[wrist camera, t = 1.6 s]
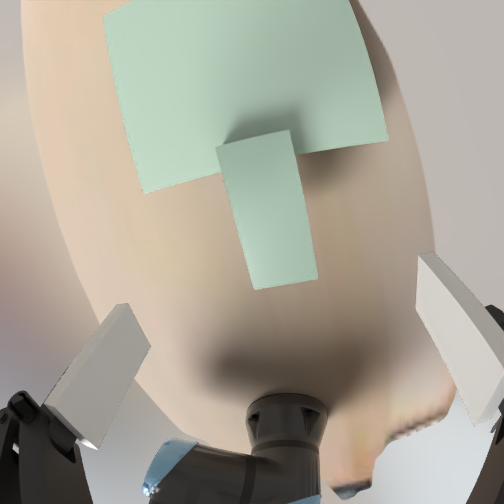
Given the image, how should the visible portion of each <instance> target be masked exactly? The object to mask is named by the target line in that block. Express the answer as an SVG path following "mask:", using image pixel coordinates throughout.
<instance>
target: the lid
mask: <svg viewBox="0 0 504 504" xmlns="http://www.w3.org/2000/svg"><path fill="white" fill-rule="evenodd" d="M103 21H104V28H105V35H106V41H107V47H108V53H109V58H110V63H111V69H112V74H113V79H114V83H115V88H116V93H117V97H118V101H119V106H120V110H121V114H122V118H123V122H124V126H125V130H126V134H127V138H128V141H129V145H130V149H131V152H132V156H133V159H134V163H135V166H136V170H137V173H138V176H139V180H140V183H141V186H142V189H143V192H144V194H146V193H149V192H153V191H156V190H159V189H162V188H166V187H169V186H172V185H176V184H179V183H183V182H186V181H190V180H193V179H197V178H201V177H204V176H208V175H212V174H216V173H220V172H222V176H223V180H224V183H225V187H226V191H227V194H228V198H229V202H230V205H231V209H232V213H233V216H234V220H235V224H236V227H237V231H238V235H239V238H240V242H241V245H242V249H243V253H244V256H245V260H246V263H247V267H248V271H249V274H250V278H251V281H252V285H253V288H254V290H257V289H263V288H269V287H275V286H281V285H287V284H293V283H299V282H304V281H310V280H316V279H318V274H317V267H316V261H315V255H314V249H313V243H312V238H311V232H310V226H309V221H308V216H307V210H306V205H305V200H304V195H303V190H302V185H301V180H300V176H299V171H298V166H297V162H296V157H295V155H301V154H306V153H311V152H317V151H323V150H329V149H335V148H341V147H348V146H355V145H362V144H369V143H377V142H385V141H388V135H387V130H386V125H385V119H384V115H383V110H382V105H381V101H380V96H379V92H378V88H377V84H376V80H375V76H374V73H373V69H372V66H371V62H370V59H369V55H368V52H367V49H366V46H365V43H364V40H363V37H362V34H361V31H360V28H359V25H358V22H357V20H356V17H355V14H354V12H353V9H352V7H351V4H350V2H349V0H132V1H130V2H128V3H126V4H125V5H123V6H121V7H119V8H117V9H115V10H113V11H112V12H110V13H108V14H106V15H105V16H103Z"/></svg>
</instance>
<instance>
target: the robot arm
mask: <svg viewBox="0 0 504 504" xmlns="http://www.w3.org/2000/svg"><path fill="white" fill-rule="evenodd" d="M415 309H416V311H417V313H418V315H419V316H420V318H421V320H422V321H423V323H424V325H425V327H426V329H427V330H428V332H429V334H430V336H431V338H432V339H433V341H434V343H435V345H436V347H437V349H438V351H439V353H440V354H441V356H442V358H443V360H444V362H445V364H446V366H447V368H448V370H449V372H450V374H451V376H452V379H453V381H454V383H455V385H456V387H457V389H458V391H459V394H460V396H461V398H462V400H463V403H464V405H465V407H466V410H467V412H468V414H469V417H470V419H471V422H472V424H473V426H476V425H478V424H480V423H483V422H485V421H487V420H489V419H491V418H492V417H493V415H494V413H495V412H496V411H497V409H498V408H499V410H500V412H501V414H502V415H501V416H500V418H499V419H498V421H497V422H496V423H495V425H494V426H493V428H492V430H491V433H493V432H494V430H495V429H496V431H495V434H494V437H493V440H492V443H491V446H490V449H489V452H488V455H487V458H486V460H485V463H484V465H483V468H482V470H481V472H480V475H479V477H478V479H477V482H476V484H475V486H474V488H473V491H472V492H471V494H470V496H469V499H468V500H467V503H466V504H504V313H503V311H501V310H500V309H498V308H496V307H495V306H493V305H489V306H486V307H484V306H483V305H482V304H481V303H480V302H479V300H478V299H477V298H476V297H475V296H474V294H473V293H472V292H471V291H470V290H469V289H468V288H467V287H466V285H465V284H464V283H463V282H462V281H461V280H460V279H459V278H458V277H457V276H456V274H455V273H454V272H453V271H452V270H451V269H450V268H449V267H448V266H447V265H446V264H445V263H444V262H443V261H442V260H441V259H440V258H439V257H438V256H437V255H436V254H435V253H434V252H429V253H425V254H420V255H418V274H417V293H416V305H415ZM150 347H151V345H150V343H149V342H148V340H147V338H146V336H145V334H144V333H143V331H142V329H141V327H140V325H139V323H138V321H137V319H136V317H135V315H134V314H133V312H132V310H131V308H130V306H129V304H128V303H126V304H118V305H116V306H115V307H114V309H113V310H112V311H111V312H110V314H109V315H108V316H107V317H106V319H105V320H104V321H103V322H102V324H101V325H100V326H99V328H98V329H97V330H96V331H95V333H94V334H93V335H92V336H91V338H90V339H89V340H88V342H87V343H86V344H85V346H84V347H83V349H82V350H81V351H80V352H79V354H78V355H77V356H76V358H75V359H74V361H73V362H72V363H71V365H70V366H69V367H68V368H67V369H66V371H65V372H64V373H63V375H62V377H61V378H60V379H59V381H58V383H57V384H56V385H55V386H54V388H53V389H52V391H51V392H50V394H49V395H48V397H47V398H46V400H45V401H44V403H43V404H42V405H41V407H39V406H38V405H37V403H36V402H35V401H34V400H33V399H32V397H31V396H30V395H29V394H28V393H27V392H26V391H19V392H17V393H16V394H15V395H13V397H11V399H10V400H9V402H8V405H7V407H6V408H3V409H1V410H0V504H93V501H92V498H91V495H90V491H89V487H88V483H87V480H86V476H85V471H84V467H83V463H82V458H81V454H80V449H79V446H78V444H76V443H75V441H76V439H77V438H78V439H79V440H80V441H81V442H82V443H84V445H86V446H88V447H91V448H95V449H97V450H99V448H100V446H101V444H102V441H103V439H104V437H105V435H106V433H107V431H108V429H109V427H110V425H111V423H112V421H113V419H114V417H115V415H116V413H117V411H118V409H119V407H120V405H121V403H122V401H123V399H124V397H125V395H126V393H127V391H128V389H129V387H130V385H131V383H132V381H133V379H134V377H135V376H136V374H137V372H138V370H139V368H140V366H141V364H142V362H143V360H144V358H145V357H146V355H147V353H148V351H149V349H150ZM326 425H327V412H326V408H325V407H324V405H323V404H322V403H321V402H319V401H318V400H316V399H314V398H311V397H308V396H304V395H298V394H278V395H272V396H268V397H264V398H262V399H259V400H257V401H256V402H254V403H253V404H252V405H250V407H249V408H248V410H247V415H246V427H247V431H248V435H249V439H250V443H251V446H252V452H251V455H247V454H242V453H237V452H232V451H227V450H222V449H217V448H213V447H208V446H205V445H201V444H199V443H198V442H190V441H186V440H182V439H178V438H172V439H169V440H167V441H166V442H165V443H164V444H163V445H162V446H161V447H160V449H159V450H158V452H157V454H156V455H155V457H154V459H153V461H152V463H151V465H150V467H149V469H148V471H147V474H146V477H145V480H144V483H143V485H142V493H143V494H145V495H146V496H147V497H150V501H149V504H320V499H321V489H320V461H319V446H320V443H321V440H322V437H323V434H324V431H325V428H326ZM13 444H15V445H16V446H17V447H18V448H19V454H18V453H16V452H15V451H14V450H13V449H12V448H13Z"/></svg>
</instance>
